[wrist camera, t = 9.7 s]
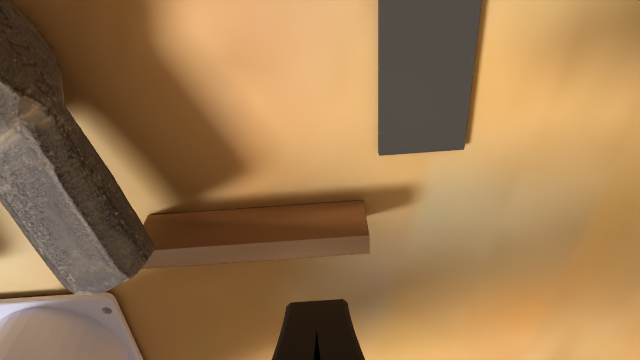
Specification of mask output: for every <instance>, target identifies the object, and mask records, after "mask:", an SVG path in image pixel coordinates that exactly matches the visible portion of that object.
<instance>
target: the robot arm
mask: <svg viewBox="0 0 640 360" xmlns="http://www.w3.org/2000/svg"><path fill="white" fill-rule="evenodd" d="M0 360H143V358H142V356H141V354H140V351H139V349H138V347H137V345H136V342H135V340H134V338H133V336H132V334H131V331H130V329H129V327H128V325H127V322H126V320H125V318H124V316H123V314H122V311H121V309H120V307H119V305H118V302H117V300H116V298H115V297H114V296H113V295H112V294H110V293H107V292H104V293H101V294H99V295H95V294H89V295H77V294H70V295H55V296H41V297H26V298H11V299H0ZM272 360H365V358H364V356H363V353H362V351H361V348H360V345H359V343H358V340H357V337H356V334H355V331H354V328H353V325H352V321H351V317H350V313H349V309H348V303H347V302H346V301H345V300H343V299H339V300H324V301H309V302H294V303H290V304H289V305H288V306H287V307H286V312H285V317H284V321H283V325H282V329H281V333H280V336H279V340H278V343H277V346H276V349H275V352H274V355H273V358H272Z"/></svg>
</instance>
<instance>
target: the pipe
mask: <svg viewBox="0 0 640 360" xmlns="http://www.w3.org/2000/svg"><path fill="white" fill-rule="evenodd" d="M0 202H1V203H2V204H3V206H4V207H5V208H6V210H7V211H8V212H9V213H10V215H11V216H12V218H13V219H14V221H15V222H16V223H17V225H18V226H19V228H20V229H21V230H22V232H23V233H24V235H25V236H26V237H27V239H28V240H29V242H30V243H31V244H32V246H33V247H34V248H35V250H36V251H37V252H38V254H39V255H40V256H41V258H42V259H43V260H44V262H45V263H46V264H47V266H48V267H49V268H50V270H51V271H52V272H53V274H54V275H55V276H56V278H57V279H58V280H59V281H60V283H61V284H62V285H63V286H64V287H65V288H67V289H68V290H69V291H70V292H72V293H73V294H77V295H89V294H95V295H99V294H101V293H104V292H106V291H108V290H110V289H112V288H114V287H116V286H118V285H120V284H122V283H124V282H126V281H127V280H129V279H131V278H132V277H133V276H134V275H135V274H137V273H138V271H139V270H140V269H141V268H142V267H143V266H144V265H145V264H146V263H147V262H148V260H149V258H150V256H151V255H152V253H153V251H154V250H155V246H154V244H153V242H152V240H151V238H150V237H149V235H148V233H147V231H146V229H145V227H144V226H143V224H142V223H141V221H140V219H139V217H138V216H137V214H136V213H135V211H134V210H133V208H132V207H131V205H130V203H129V202H128V200H127V198H126V197H125V195H124V193H123V192H122V190H121V188H120V187H119V185H118V184H117V182H116V180H115V178H114V177H113V175H112V174H111V172H110V171H109V169H108V168H107V166H106V165H105V163H104V162H103V161H102V159H101V158H100V156H99V155H98V153H97V152H96V150H95V149H94V147H93V146H92V144H91V143H90V141H89V140H88V139H87V137H86V136H85V134H84V133H83V131H82V130H81V128H80V127H79V125H78V124H77V123H76V121H75V120H74V118H73V117H72V115H71V114H70V112H69V111H68V110H67V108H66V107H65V105H64V92H63V77H62V72H61V70H60V67H59V64H58V62H57V60H56V58H55V56H54V54H53V53H52V51H51V49H50V47H49V45H48V44H47V43H46V41H45V40H44V39H43V37H42V36H41V34H40V33H39V31H38V30H37V29H36V28H35V26H34V25H33V24H32V23H31V22H30V21H29V20H28V19H27V17H26V16H25V15H24V14H23V13H22V12H21V11H20V10H19V9H18V7H17V6H16V5H15V4H13V3H12V2H11V1H10V0H0Z"/></svg>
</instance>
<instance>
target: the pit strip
mask: <svg viewBox="0 0 640 360" xmlns="http://www.w3.org/2000/svg"><path fill="white" fill-rule="evenodd" d="M481 2H482V0H378V153H379V156H381V155H395V154H408V153H422V152H436V151H450V150H464V146H465V138H466V129H467V121H468V112H469V104H470V95H471V87H472V79H473V70H474V62H475V53H476V45H477V36H478V28H479V19H480V11H481Z"/></svg>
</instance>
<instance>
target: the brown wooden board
mask: <svg viewBox="0 0 640 360" xmlns="http://www.w3.org/2000/svg"><path fill="white" fill-rule="evenodd" d="M143 226H144V227H145V229H146V231H147V233H148V235H149V237H150V238H151V240H152V242H153V244H154V246H155V250H154V251H153V253H152V255H151V256H150V258H149V260H148V262H147V263H146V264H145V265H144V266H143V267H142V268H141V269H149V268H163V267H178V266H192V265H207V264H222V263H236V262H251V261H265V260H280V259H295V258H309V257H324V256H339V255H353V254H368V253H370V252H369V231H368V225H367V220H366V214H365V208H364V203H363V200H359V201H345V202H331V203H316V204H302V205H288V206H274V207H260V208H245V209H231V210H217V211H203V212H189V213H174V214H160V215H148V216H147V218H146V221H145V223H144V225H143Z"/></svg>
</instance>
